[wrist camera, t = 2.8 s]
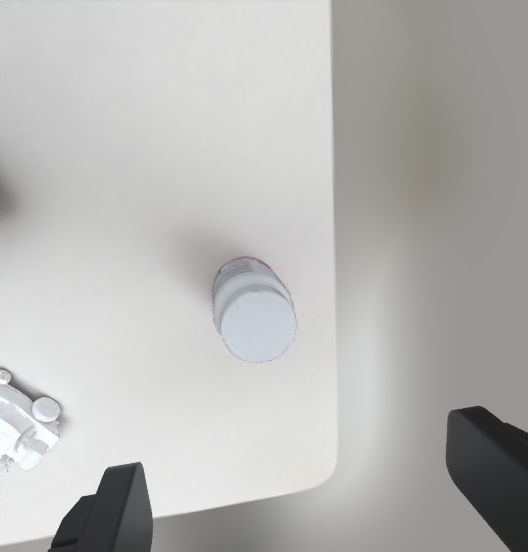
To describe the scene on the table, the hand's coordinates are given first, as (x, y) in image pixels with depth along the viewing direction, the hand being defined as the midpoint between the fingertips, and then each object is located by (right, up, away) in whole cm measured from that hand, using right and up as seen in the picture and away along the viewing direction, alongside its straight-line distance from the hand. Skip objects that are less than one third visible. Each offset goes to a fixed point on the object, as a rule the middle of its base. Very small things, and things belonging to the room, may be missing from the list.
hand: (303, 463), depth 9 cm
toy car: (-20, -5, +17) cm, 26 cm away
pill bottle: (-2, +4, +17) cm, 18 cm away
